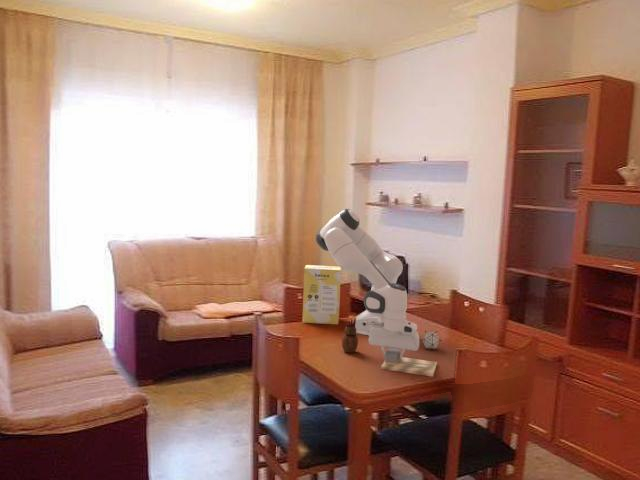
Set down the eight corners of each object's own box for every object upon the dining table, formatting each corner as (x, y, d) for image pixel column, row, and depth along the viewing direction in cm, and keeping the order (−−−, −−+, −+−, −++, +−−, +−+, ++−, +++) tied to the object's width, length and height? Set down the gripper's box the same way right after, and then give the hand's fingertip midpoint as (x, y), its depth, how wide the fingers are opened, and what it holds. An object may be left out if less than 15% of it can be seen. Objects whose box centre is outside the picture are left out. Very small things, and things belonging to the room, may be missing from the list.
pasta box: (338, 319, 282) (340, 266, 278) (338, 324, 271) (340, 270, 268) (304, 317, 283) (306, 264, 280) (302, 322, 272) (304, 268, 269)
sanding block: (385, 363, 212) (385, 353, 212) (388, 357, 220) (389, 348, 219) (396, 365, 211) (396, 355, 210) (399, 359, 218) (400, 349, 218)
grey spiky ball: (432, 358, 236) (436, 345, 229) (415, 348, 239) (419, 335, 232) (442, 345, 241) (446, 332, 234) (426, 335, 244) (429, 322, 237)
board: (381, 368, 210) (381, 365, 209) (388, 357, 223) (388, 355, 223) (432, 376, 203) (433, 373, 203) (436, 364, 217) (437, 362, 216)
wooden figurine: (358, 350, 231) (360, 316, 229) (355, 354, 225) (357, 320, 223) (343, 348, 233) (345, 315, 231) (340, 352, 227) (341, 318, 226)
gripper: (367, 323, 214) (365, 356, 215) (418, 329, 207) (416, 364, 209) (371, 319, 220) (369, 351, 221) (421, 325, 213) (419, 359, 215)
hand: (392, 357), depth 215 cm, fingers closed on sanding block, 4 cm apart
